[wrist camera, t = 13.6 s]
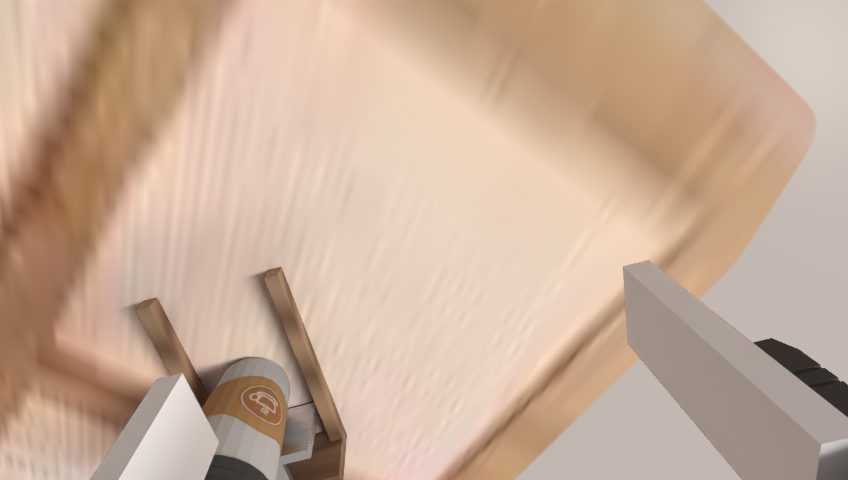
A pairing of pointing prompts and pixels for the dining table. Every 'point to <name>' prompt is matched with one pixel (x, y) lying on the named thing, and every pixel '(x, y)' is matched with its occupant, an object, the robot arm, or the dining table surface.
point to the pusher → (297, 437)
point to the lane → (326, 465)
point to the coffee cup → (248, 420)
